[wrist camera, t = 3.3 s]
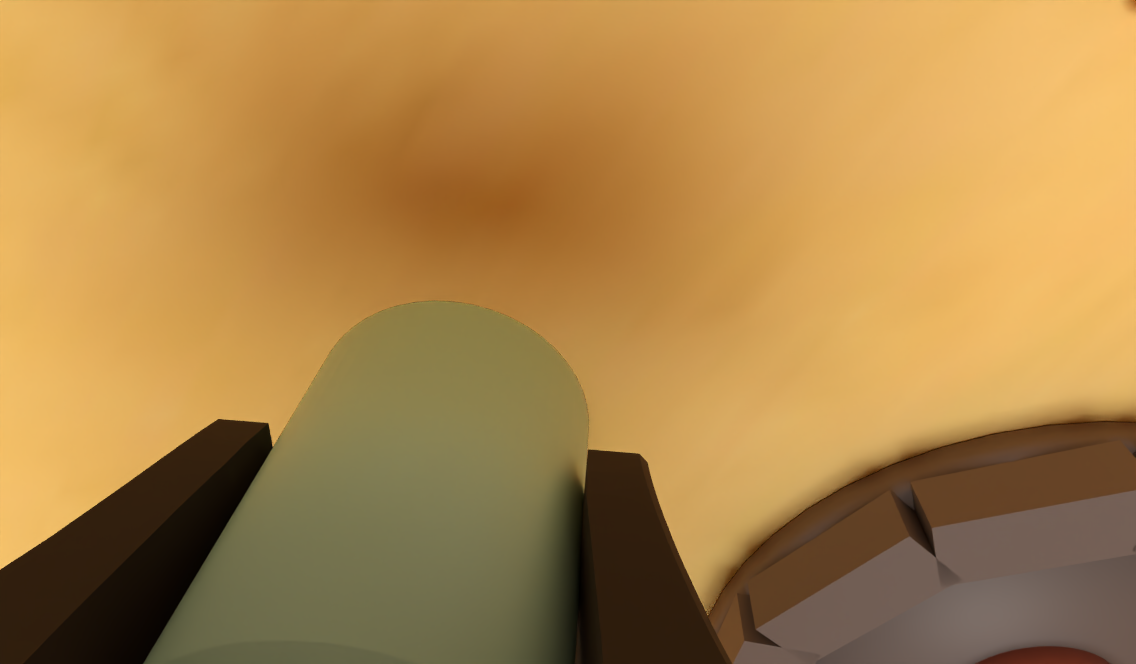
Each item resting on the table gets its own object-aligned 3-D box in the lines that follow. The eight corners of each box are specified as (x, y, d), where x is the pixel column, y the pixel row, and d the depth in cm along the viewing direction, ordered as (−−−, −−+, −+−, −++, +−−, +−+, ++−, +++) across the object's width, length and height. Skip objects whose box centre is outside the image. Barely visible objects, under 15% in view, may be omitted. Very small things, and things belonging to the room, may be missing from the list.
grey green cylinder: (474, 555, 12) (394, 931, 8) (266, 420, 11) (38, 776, 7) (646, 419, 10) (663, 798, 6) (424, 244, 9) (259, 562, 5)
